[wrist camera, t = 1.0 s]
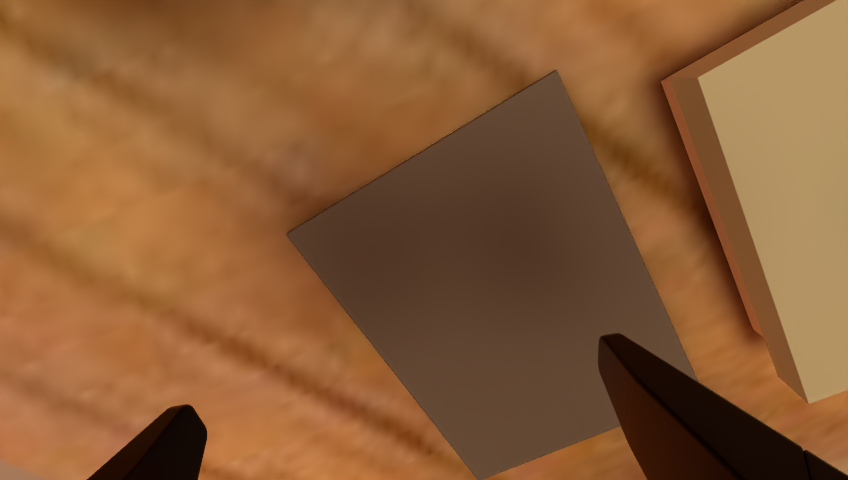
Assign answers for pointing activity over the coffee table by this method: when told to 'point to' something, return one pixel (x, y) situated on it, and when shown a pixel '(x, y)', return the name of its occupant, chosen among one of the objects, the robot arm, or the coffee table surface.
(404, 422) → the coffee table surface
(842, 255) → the lid
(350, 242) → the mat
